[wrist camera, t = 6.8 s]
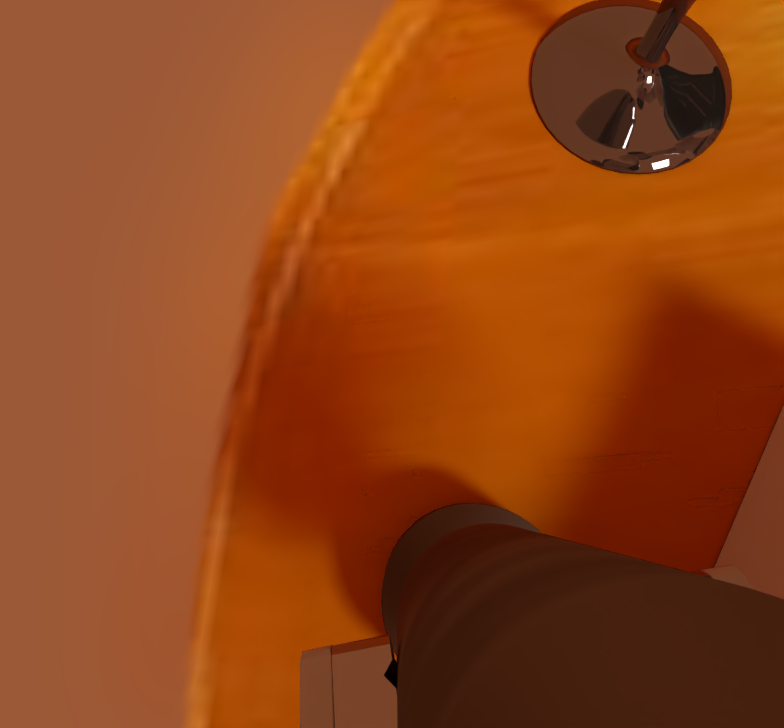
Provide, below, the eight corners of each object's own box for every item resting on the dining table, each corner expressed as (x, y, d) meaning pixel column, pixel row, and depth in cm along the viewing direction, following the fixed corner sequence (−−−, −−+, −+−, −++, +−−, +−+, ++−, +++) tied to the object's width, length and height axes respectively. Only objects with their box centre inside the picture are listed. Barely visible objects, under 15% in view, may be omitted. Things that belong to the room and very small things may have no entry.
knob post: (434, 472, 19) (542, 409, 5) (587, 558, 18) (1174, 749, 4) (350, 628, 18) (202, 1076, 4) (508, 724, 17) (948, 1611, 4)
